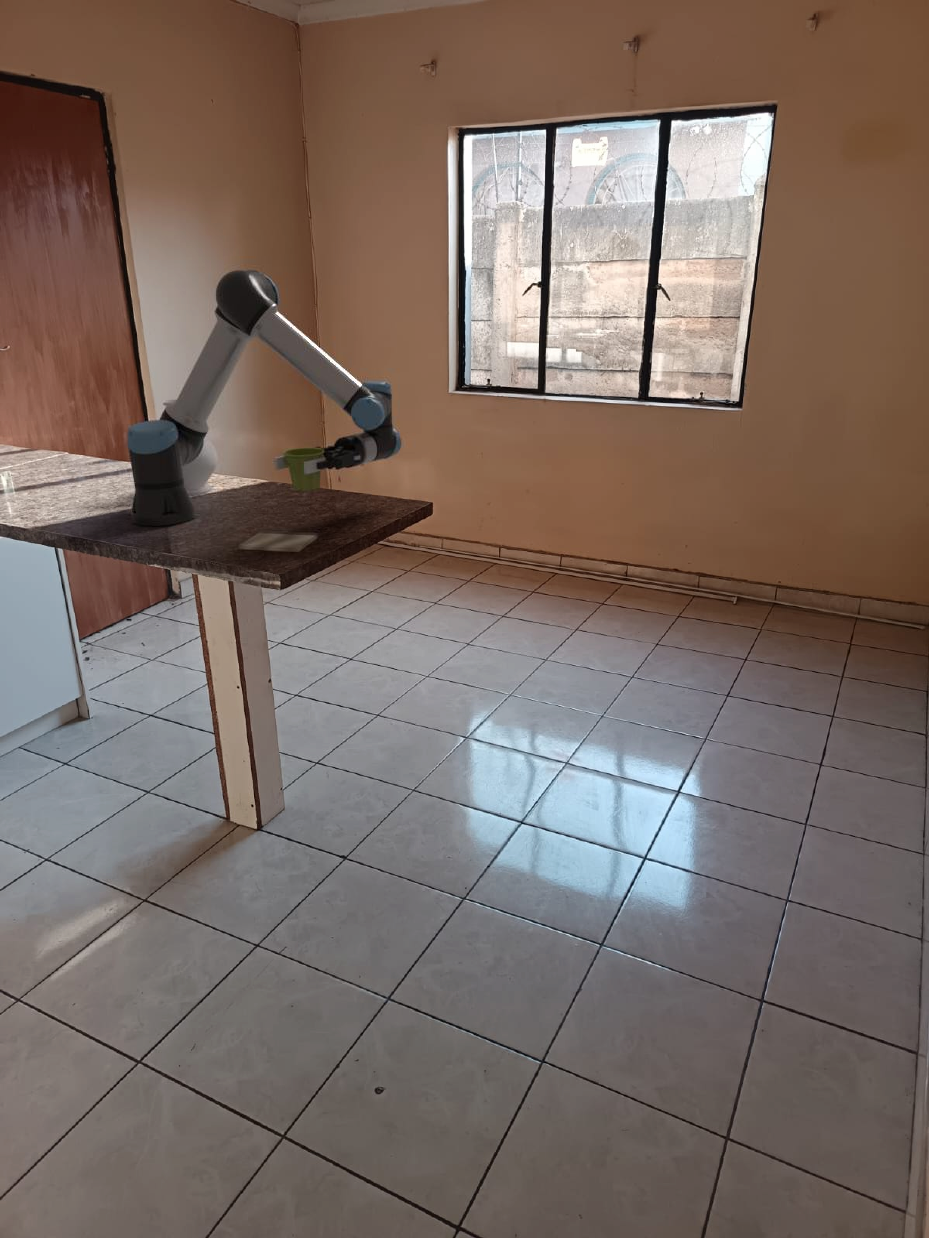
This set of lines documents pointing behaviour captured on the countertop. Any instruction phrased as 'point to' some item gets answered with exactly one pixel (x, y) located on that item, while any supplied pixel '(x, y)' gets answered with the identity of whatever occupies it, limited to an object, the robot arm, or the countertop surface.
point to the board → (279, 541)
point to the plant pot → (297, 467)
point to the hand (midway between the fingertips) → (290, 466)
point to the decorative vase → (199, 467)
